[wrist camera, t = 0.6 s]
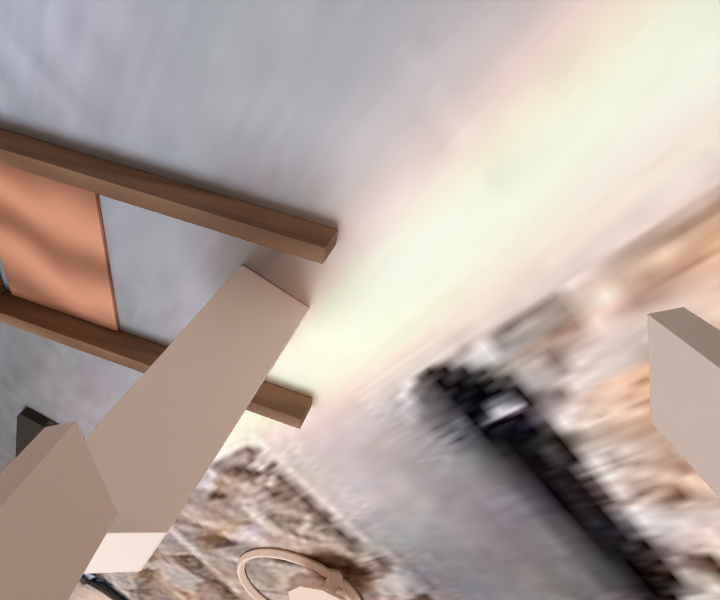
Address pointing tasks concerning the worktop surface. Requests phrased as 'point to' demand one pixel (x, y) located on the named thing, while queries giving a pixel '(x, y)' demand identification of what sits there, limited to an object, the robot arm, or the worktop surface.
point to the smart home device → (29, 427)
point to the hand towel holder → (305, 596)
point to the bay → (89, 252)
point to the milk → (185, 413)
